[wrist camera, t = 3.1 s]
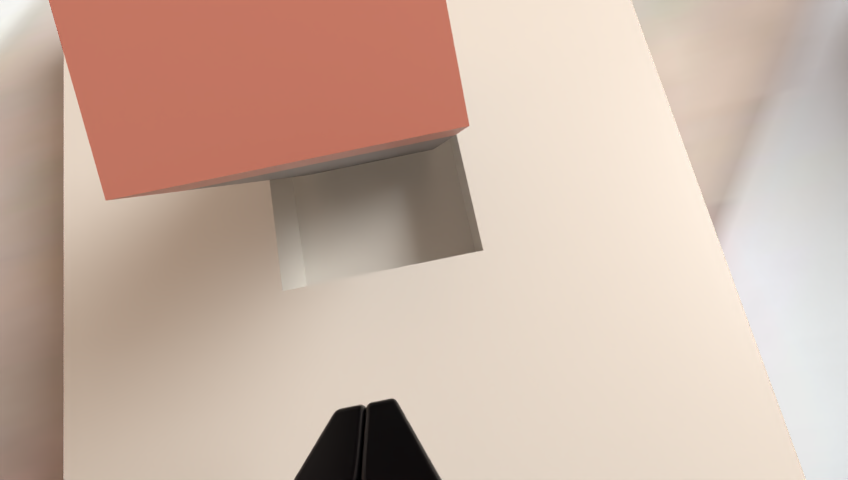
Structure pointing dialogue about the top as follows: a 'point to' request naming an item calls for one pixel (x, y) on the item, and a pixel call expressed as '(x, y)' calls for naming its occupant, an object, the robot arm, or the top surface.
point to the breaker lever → (256, 87)
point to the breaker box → (431, 289)
